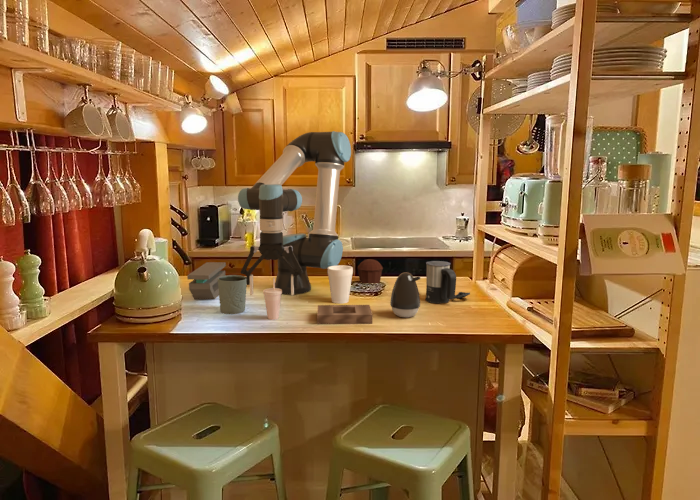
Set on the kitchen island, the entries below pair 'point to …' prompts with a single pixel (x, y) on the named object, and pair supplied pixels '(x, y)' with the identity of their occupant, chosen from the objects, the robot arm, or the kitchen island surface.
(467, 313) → the kitchen island surface
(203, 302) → the kitchen island surface
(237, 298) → the embossed green cup
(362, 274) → the muffin
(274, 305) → the smoothie
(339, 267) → the foam cup
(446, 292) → the milk frother
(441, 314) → the kitchen island surface
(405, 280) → the pump dispenser
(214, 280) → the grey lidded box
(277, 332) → the kitchen island surface
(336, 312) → the bottle holder
